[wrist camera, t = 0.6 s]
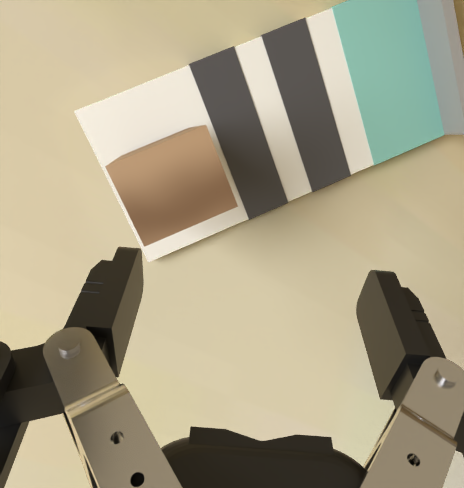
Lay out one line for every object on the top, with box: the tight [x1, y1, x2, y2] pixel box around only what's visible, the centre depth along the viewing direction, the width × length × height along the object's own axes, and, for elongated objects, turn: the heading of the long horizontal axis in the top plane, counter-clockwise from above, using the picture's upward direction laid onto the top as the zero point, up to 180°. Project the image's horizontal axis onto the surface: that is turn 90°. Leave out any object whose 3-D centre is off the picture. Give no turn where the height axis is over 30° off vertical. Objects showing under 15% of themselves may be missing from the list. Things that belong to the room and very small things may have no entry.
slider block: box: [105, 125, 238, 247], centre depth 29 cm, size 5×6×12 cm
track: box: [74, 0, 464, 262], centre depth 35 cm, size 14×32×4 cm, turn 112°
